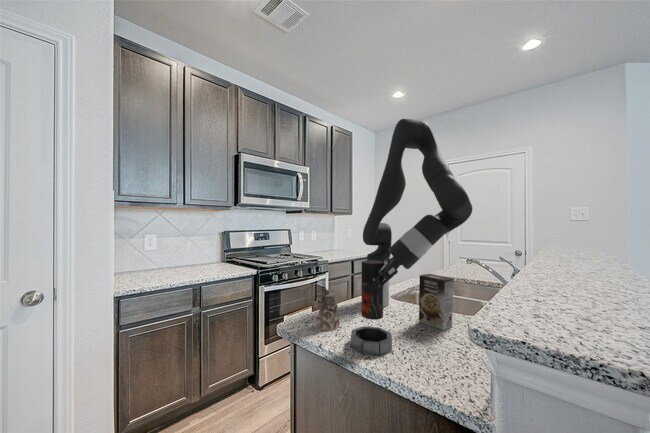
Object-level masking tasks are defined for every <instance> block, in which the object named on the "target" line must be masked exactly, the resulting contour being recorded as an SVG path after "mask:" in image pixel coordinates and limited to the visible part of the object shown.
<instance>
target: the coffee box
mask: <svg viewBox="0 0 650 433" xmlns="http://www.w3.org/2000/svg"><path fill="white" fill-rule="evenodd" d="M454 280H455V279H454V278H453V277H448V276H443V275H439V274H438V275H437V274H433V273H425V274H421V275H419V288H418V289H419V295H418V323H420V324H423V325H426V326H429V327H432V328H435V329H438V330H441V331H445V330H447V329H450V328H452V327H453V314H454V313H453V312H454V311H453V309H454V305H453V304H454V303H453V302H454V282H455V281H454Z"/></svg>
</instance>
